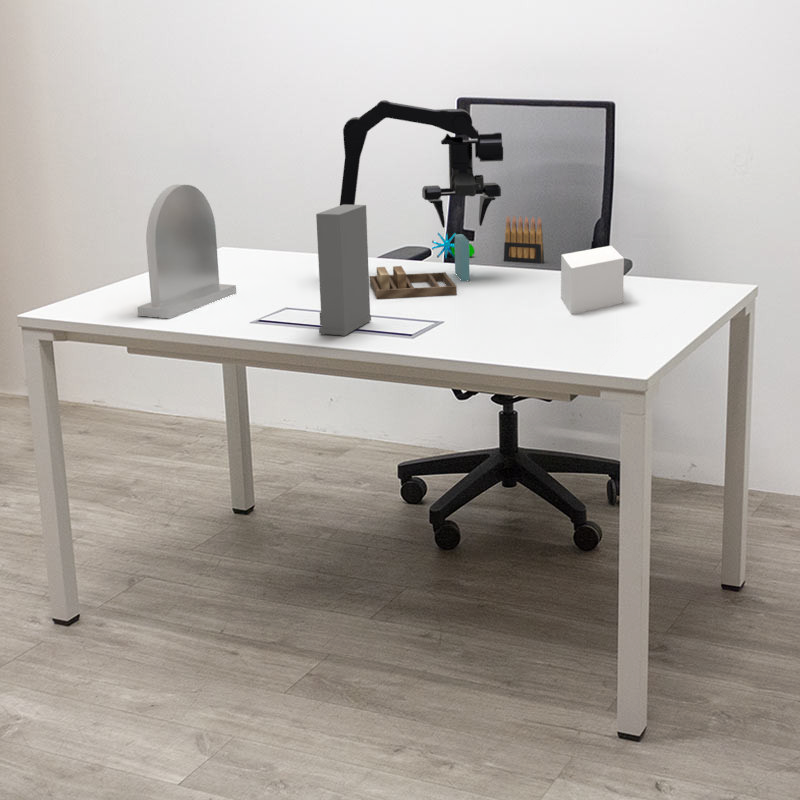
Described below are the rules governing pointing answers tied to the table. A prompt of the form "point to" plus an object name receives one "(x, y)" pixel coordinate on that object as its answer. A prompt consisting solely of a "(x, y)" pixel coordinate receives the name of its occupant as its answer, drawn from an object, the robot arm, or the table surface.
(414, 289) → the rack
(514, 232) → the ammunition clip
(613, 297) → the white rectangular block
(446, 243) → the multicoloured piece
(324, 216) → the tall grey pillar
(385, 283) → the pine offcut
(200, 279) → the award
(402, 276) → the oak offcut
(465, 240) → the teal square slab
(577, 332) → the table surface
